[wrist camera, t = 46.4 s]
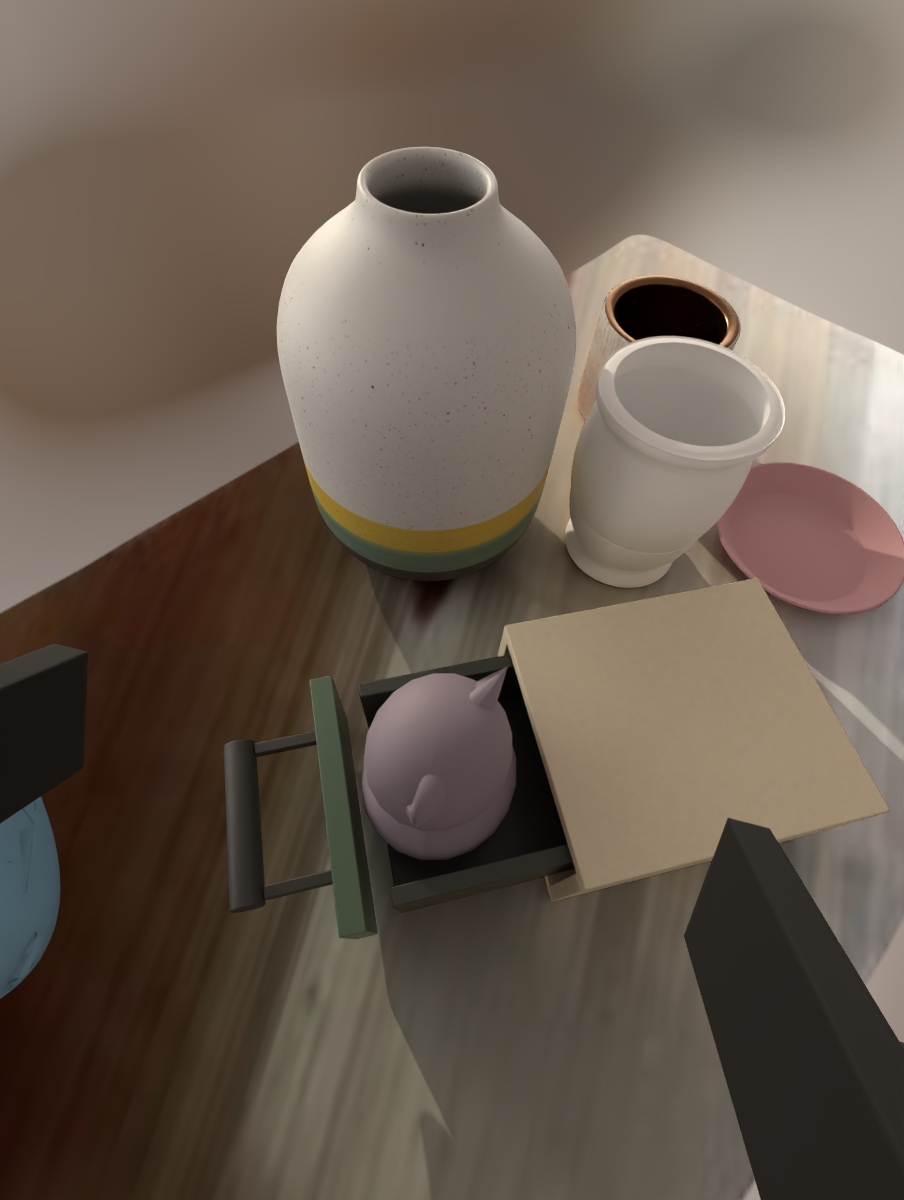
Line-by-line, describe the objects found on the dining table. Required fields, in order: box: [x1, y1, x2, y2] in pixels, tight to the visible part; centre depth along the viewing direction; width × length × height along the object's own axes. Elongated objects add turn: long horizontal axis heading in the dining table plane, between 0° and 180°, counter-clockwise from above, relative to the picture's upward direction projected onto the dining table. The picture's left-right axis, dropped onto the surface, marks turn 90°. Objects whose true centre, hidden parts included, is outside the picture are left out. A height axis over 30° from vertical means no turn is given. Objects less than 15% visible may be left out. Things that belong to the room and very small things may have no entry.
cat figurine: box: [361, 666, 516, 860], centre depth 29 cm, size 8×8×12 cm
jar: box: [565, 336, 785, 588], centre depth 40 cm, size 11×10×15 cm
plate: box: [716, 463, 904, 614], centre depth 46 cm, size 14×14×2 cm
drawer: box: [224, 654, 575, 939], centre depth 32 cm, size 20×12×7 cm, turn 103°
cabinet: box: [497, 578, 890, 902], centre depth 34 cm, size 16×14×9 cm
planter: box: [578, 276, 740, 421], centre depth 50 cm, size 11×11×10 cm
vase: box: [277, 147, 576, 581], centre depth 37 cm, size 17×17×24 cm
